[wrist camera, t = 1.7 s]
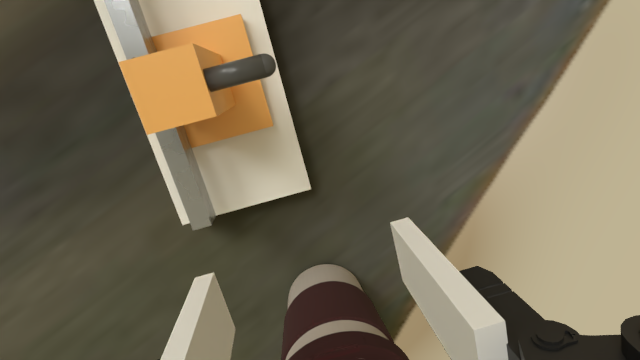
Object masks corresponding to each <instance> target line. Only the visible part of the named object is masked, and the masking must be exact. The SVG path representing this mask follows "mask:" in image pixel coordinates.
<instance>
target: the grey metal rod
mask: <svg viewBox="0 0 640 360" xmlns="http://www.w3.org/2000/svg"><path fill="white" fill-rule="evenodd" d="M104 2H105V5H106V7H107V10H108V12H109V15H110V17H111V20H112V23H113V25H114V28H115V30H116V33H117V36H118V38H119V41H120V43H121V46H122V48H123V51H124V54H125V56H126V59H127V60H129V59H132V58H136V57H140V56H144V55H148V54H152V53H155V52H157V51H156V48H155V45H154V42H153V40H152V37H151V34H150V31H149V29H148V26H147V23H146V20H145V18H144V15H143V12H142V9H141V7H140V4H139V1H138V0H104ZM155 134H156V136H157V139H158V141H159V144H160V147H161V149H162V152H163V154H164V157H165V159H166V162H167V165H168V167H169V170H170V172H171V175H172V178H173V180H174V183H175V185H176V188H177V190H178V193H179V196H180V198H181V201H182V203H183V206H184V209H185V211H186V214H187V216H188V219H189V221H190V224H191V227H192V229H193V230H197V229H200V228H204V227H208V226H211V225H212V224H213V222H214V219H215V217H216V213H215V211H214V208H213V205H212V202H211V200H210V197H209V194H208V191H207V189H206V186H205V183H204V180H203V178H202V175H201V172H200V169H199V167H198V164H197V161H196V158H195V156H194V153H193V150H192V147H191V145H190V142H189V139H188V136H187V133H186V131H185V128H184V125H182V126H179V127H175V128H171V129H167V130H164V131H160V132H156V133H155Z"/></svg>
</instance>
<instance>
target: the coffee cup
mask: <svg viewBox="0 0 640 360" xmlns="http://www.w3.org/2000/svg"><path fill="white" fill-rule="evenodd" d="M281 360H409V359H408V357H407V356H406V354H405V353H404V352H403V351H402V350H401V349H400V348H399V347H398V346H397V345H396V344H394V342H393V340H392V338H391V336H390V334H389V332H388V331H387V329H386V327H385V325H384V323H383V321H382V320H381V318H380V316H379V314H378V312H377V311H376V309H375V307H374V305H373V303H372V301H371V300H370V298H369V297H368V296H367V295H366V294H365V293H364V291H363V290H362V288H361V286H360V284H359V282H358V280H357V279H356V277H355V276H354V275H353V274H352V273H351V272H350V271H348V270H347V269H345V268H343V267H341V266H337V265H333V264H321V265H317V266H313V267H311V268H309V269H307V270H305V271H304V272H303V273H301V274H300V275H299V276H298V277H297V278H296V280H295V281H294V282H293V284H292V286H291V289H290V292H289V297H288V310H287V313H286V316H285V320H284V332H283V344H282V356H281Z"/></svg>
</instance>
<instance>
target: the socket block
mask: <svg viewBox="0 0 640 360" xmlns="http://www.w3.org/2000/svg"><path fill="white" fill-rule="evenodd" d="M138 1H139V4H140V7H141V9H142V12H143V15H144V18H145V20H146V23H147V26H148V29H149V31H150V34H151V37H153V36H157V35H161V34H165V33H169V32H172V31H176V30H180V29H184V28H188V27H192V26H196V25H199V24H203V23H207V22H211V21H215V20H219V19H223V18H227V17H230V16H234V15H238V14H241V15H242V18H243V21H244V25H245V28H246V32H247V35H248V39H249V42H250V45H251V49H252V52H253V56H254V55H258V54H262V53H266V54H269V55H270V56H272V57H273V58H274V60H275V62H276V59H275V56H274V52H273V48H272V45H271V41H270V37H269V34H268V30H267V27H266V23H265V19H264V16H263V12H262V8H261V5H260V1H259V0H138ZM94 2H95V5H96V7H97V10H98V12H99V15H100V17H101V20H102V23H103V25H104V28H105V30H106V33H107V35H108V38H109V40H110V43H111V45H112V48H113V50H114V53H115V55H116V58H117V61H118V63H119V62H121V61H125V60H127V59H126V56H125V54H124V51H123V48H122V46H121V43H120V41H119V38H118V36H117V33H116V30H115V28H114V25H113V23H112V20H111V17H110V15H109V12H108V10H107V7H106V5H105V2H104V0H94ZM119 66H120V65H119ZM121 71H122V70H121ZM123 76H124V75H123ZM260 80H261V83H262V87H263V90H264V94H265V97H266V100H267V104H268V107H269V111H270V114H271V118H272V121H273V126H271V127H268V128H264V129H260V130H257V131H253V132H249V133H246V134H242V135H238V136H234V137H231V138H227V139H223V140H220V141H216V142H212V143H209V144H205V145H201V146H197V147H194V148H192V150H193V153H194V156H195V158H196V161H197V164H198V167H199V169H200V172H201V175H202V178H203V180H204V183H205V186H206V189H207V191H208V194H209V197H210V200H211V202H212V205H213V208H214V211H215V213H216V215H220V214H224V213H227V212H231V211H234V210H238V209H242V208H245V207H249V206H252V205H256V204H260V203H263V202H267V201H270V200H274V199H278V198H281V197H285V196H288V195H292V194H296V193H299V192H303V191H306V190H310V189H311V186H310V183H309V179H308V175H307V172H306V168H305V165H304V161H303V157H302V154H301V150H300V146H299V143H298V139H297V136H296V132H295V128H294V125H293V121H292V117H291V114H290V110H289V106H288V103H287V99H286V96H285V92H284V88H283V85H282V81H281V77H280V74H279V70H278V67H277V63H276V70H275V72H274V73H273V75H271V76H270V77H267V78H263V79H260ZM125 81H126V80H125ZM127 86H128V85H127ZM129 91H130V90H129ZM131 96H132V95H131ZM132 99H133V98H132ZM133 101H134V100H133ZM134 104H135V103H134ZM136 109H137V108H136ZM138 114H139V113H138ZM140 119H141V118H140ZM142 124H143V123H142ZM144 129H145V128H144ZM146 134H147V133H146ZM147 137H148V139H149V142H150V144H151V147H152V149H153V152H154V154H155V157H156V159H157V162H158V164H159V167H160V169H161V172H162V175H163V177H164V180H165V182H166V185H167V187H168V190H169V192H170V195H171V197H172V200H173V202H174V205H175V208H176V210H177V213H178V215H179V218H180V220H181V223H182V225H184V224H188V223H190V221H189V219H188V216H187V214H186V211H185V209H184V206H183V203H182V201H181V198H180V196H179V193H178V190H177V188H176V185H175V183H174V180H173V178H172V175H171V172H170V170H169V167H168V165H167V162H166V159H165V157H164V154H163V152H162V149H161V147H160V144H159V141H158V139H157V136H156V134H155V133H152V134H149V135H147Z"/></svg>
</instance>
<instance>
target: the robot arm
mask: <svg viewBox="0 0 640 360" xmlns="http://www.w3.org/2000/svg"><path fill="white" fill-rule="evenodd" d="M390 225H391V229H392V234H393V238H394V243H395V248H396V252H397V257H398V262H399V266H400V271H401V276H402V280H403V282H404V284H405V285H406V287H407V289H408V290H409V292H410V293H411V295H412V297H413V298H414V300H415V302H416V303H417V305H418V307H419V308H420V310H421V311H422V313H423V315H424V316H425V318H426V320H427V321H428V323H429V324H430V326H431V328H432V329H433V331H434V333H435V334H436V336H437V337H438V339H439V341H440V342H441V344H442V346H443V347H444V349H445V350H446V352H447V354H448V355H449V357H450V359H451V360H640V315H639V316H633V317H630V318H628V319H625V321H624V322H623V323H622V324H621V335H602V336H601V335H600V336H587V335H579V334H578V332H577V331H575V330H574V329H572V328H570V327H569V326H567V325H565V324H562V323H559V322H555V321H549V320H544V319H543V318H542V317H541V316H540V315H539V314H538V313H537V312H536V311H535V310H533V309H532V308H531V307H530V306H529V305H528V304H527V303H526V302H525V301H523V300H522V299H521V298H520V297H519V296H518V295H517V294H516V293H514V292H512V291H511V289H510V288H509V287H508V286H507V285H506V284H505V283H504V284H503V282H502V281H501V280H500V279H499V278H498V277H497V276H496V275H495V274H493V272H490V271H488V270H486V269H483V268H481V267H479V266H475V267H472V268H469V269H465V270H462V271H458V270H457V269H456V268H455V267H454V266H453V265H452V264H451V263H450V261H449V260H448V259H447V258H446V257H445V256H444V255H443V254H442V253H441V252H440V251H439V250H438V249H437V248H436V246H435V245H434V244H433V243H432V242H431V241H430V240H429V239H428V238H427V237H426V236H425V235H424V234H423V233H422V232H421V230H420V229H419V228H418V227H417V226H416V225H415V224H414V223H413V222H412V221H411V220H410V219H409V218H404V219H401V220H397V221H393V222H390ZM234 335H235V326H234V324H233V321H232V318H231V316H230V313H229V311H228V308H227V305H226V303H225V300H224V297H223V295H222V292H221V290H220V287H219V284H218V282H217V279H216V277H215V274H214V272H213V273H210V274H206V275H203V276H199V277H195V279H194V281H193V284H192V286H191V288H190V291H189V293H188V295H187V298H186V300H185V303H184V305H183V307H182V310H181V312H180V314H179V317H178V319H177V322H176V324H175V326H174V329H173V331H172V333H171V336H170V338H169V340H168V343H167V345H166V348H165V350H164V352H163V355H162V357H161V359H158V360H230V358H231V352H232V346H233V341H234Z"/></svg>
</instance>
